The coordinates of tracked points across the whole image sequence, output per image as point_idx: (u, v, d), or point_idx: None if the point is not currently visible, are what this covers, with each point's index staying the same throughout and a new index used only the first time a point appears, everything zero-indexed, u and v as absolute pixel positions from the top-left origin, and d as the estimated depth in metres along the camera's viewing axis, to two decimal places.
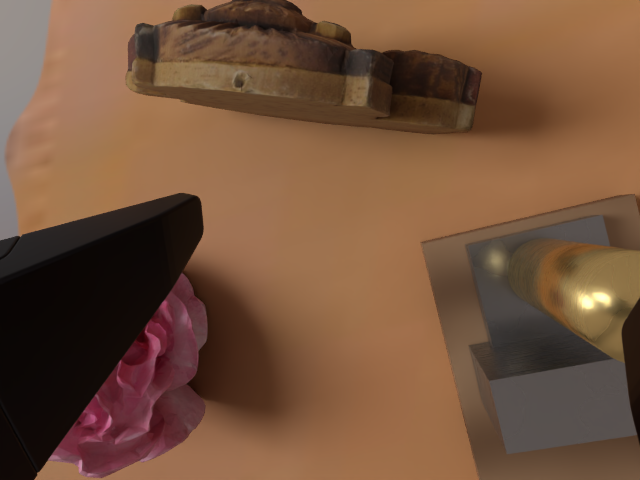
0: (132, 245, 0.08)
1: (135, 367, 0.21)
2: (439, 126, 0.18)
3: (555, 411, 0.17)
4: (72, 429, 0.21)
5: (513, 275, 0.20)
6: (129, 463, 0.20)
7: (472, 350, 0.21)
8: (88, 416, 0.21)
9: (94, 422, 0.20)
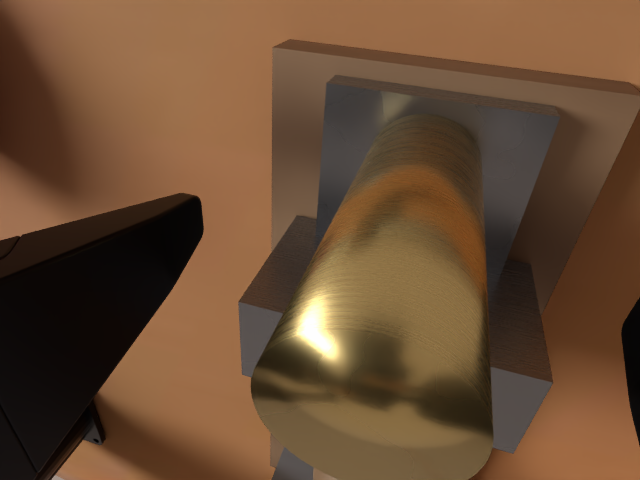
0: (132, 245, 0.08)
1: None
2: None
3: None
4: None
5: None
6: None
7: (289, 228, 0.15)
8: None
9: None
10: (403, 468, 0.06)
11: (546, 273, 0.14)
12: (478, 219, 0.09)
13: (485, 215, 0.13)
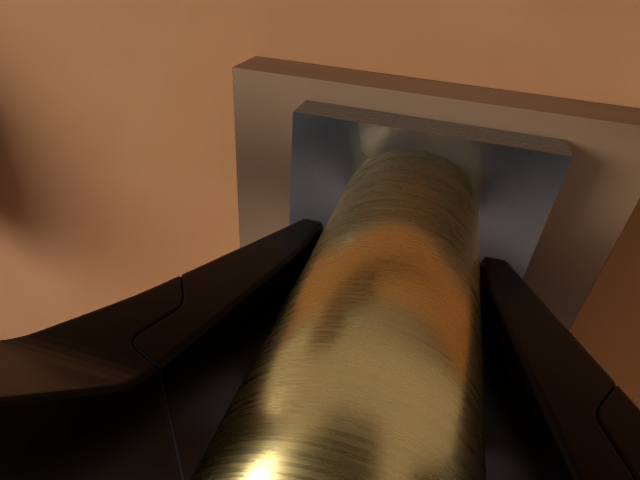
0: (281, 281, 0.07)
1: None
2: None
3: None
4: None
5: None
6: None
7: None
8: None
9: None
10: None
11: None
12: (472, 303, 0.07)
13: None
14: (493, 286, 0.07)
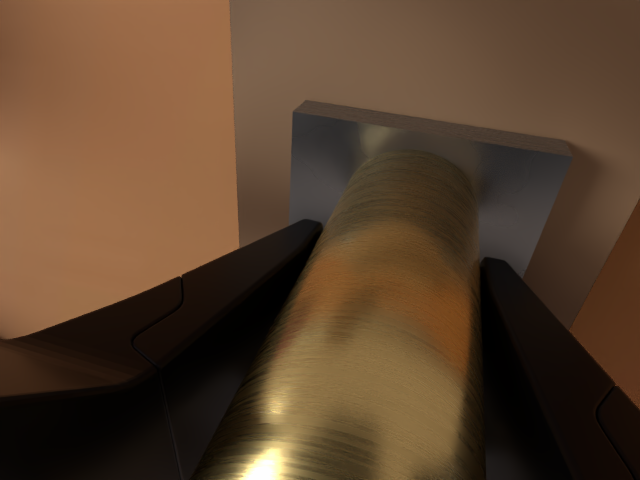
0: (281, 281, 0.07)
1: None
2: None
3: None
4: None
5: None
6: None
7: None
8: None
9: None
10: None
11: None
12: (472, 303, 0.07)
13: None
14: (493, 286, 0.07)
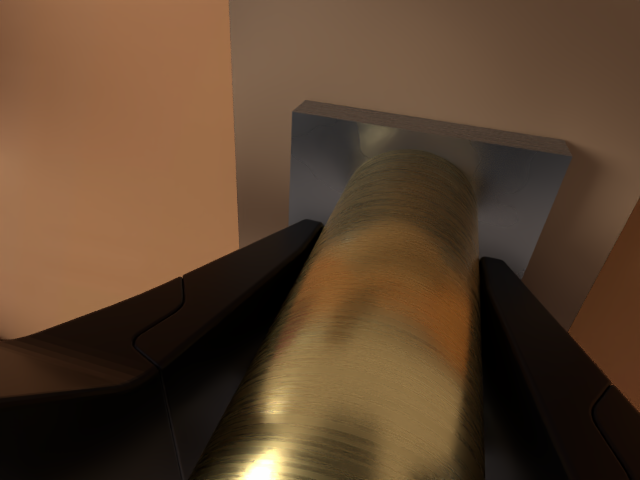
0: (282, 281, 0.07)
1: None
2: None
3: None
4: None
5: None
6: None
7: None
8: None
9: None
10: None
11: None
12: (472, 303, 0.07)
13: None
14: (490, 285, 0.07)
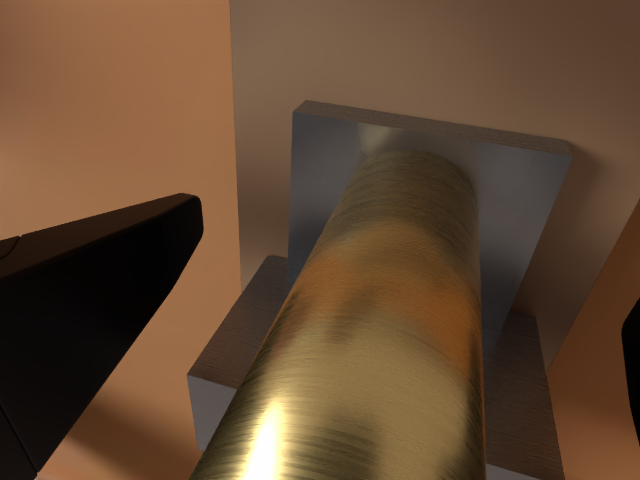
0: (132, 245, 0.08)
1: None
2: None
3: None
4: None
5: None
6: None
7: (256, 273, 0.13)
8: None
9: None
10: None
11: None
12: (472, 303, 0.07)
13: (482, 266, 0.11)
14: None
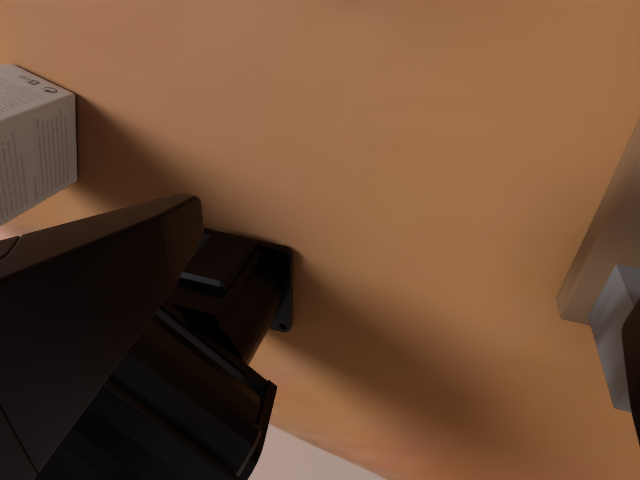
0: (132, 245, 0.08)
1: None
2: None
3: None
4: None
5: None
6: None
7: None
8: None
9: None
10: None
11: None
12: None
13: None
14: None
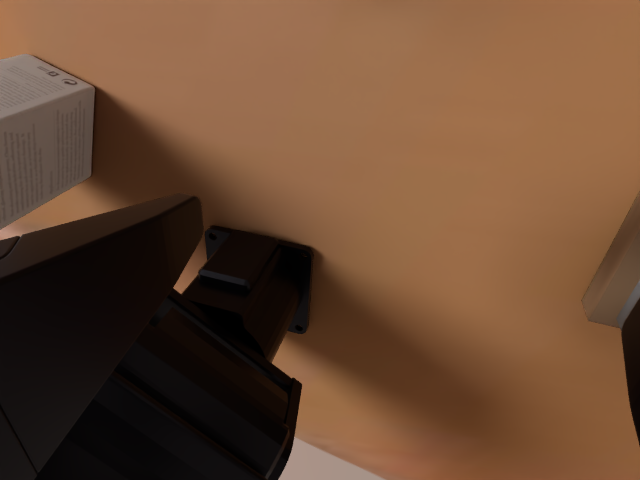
0: (132, 245, 0.08)
1: None
2: None
3: None
4: None
5: None
6: None
7: None
8: None
9: None
10: None
11: None
12: None
13: None
14: None
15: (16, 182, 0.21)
